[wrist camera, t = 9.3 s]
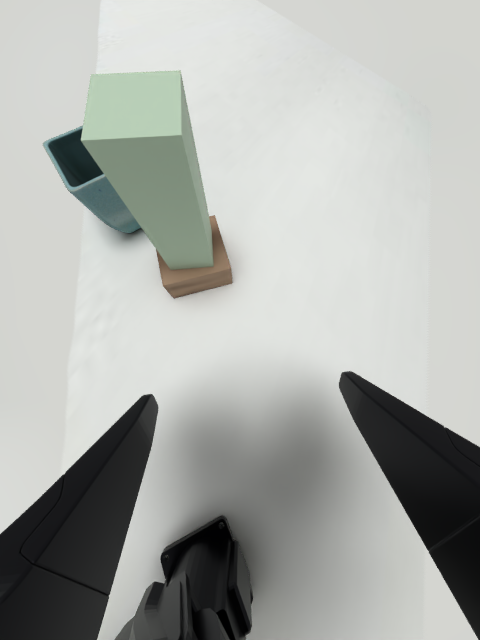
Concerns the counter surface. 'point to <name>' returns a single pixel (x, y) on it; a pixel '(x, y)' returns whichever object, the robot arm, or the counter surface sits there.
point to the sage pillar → (151, 160)
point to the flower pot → (88, 180)
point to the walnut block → (198, 270)
